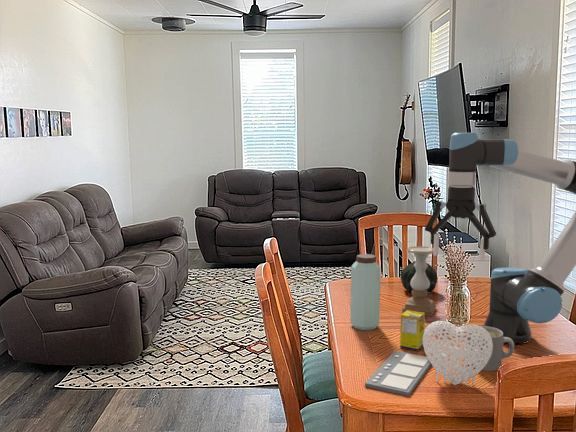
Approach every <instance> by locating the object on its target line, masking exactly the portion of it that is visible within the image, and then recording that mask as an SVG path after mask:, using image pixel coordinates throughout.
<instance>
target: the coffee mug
mask: <svg viewBox="0 0 576 432" xmlns="http://www.w3.org/2000/svg"><path fill="white" fill-rule="evenodd" d="M480 326H481V327H483V328H484V329H486V330H487V331H488V333H489V334H490V336H491V338H492V343H493V349H492V354H491V357H490V359H489V361H488V362H487V364H486V365H485V367H484V368H483V369H482V370H483V371H484V372H493V371H494V372H495V371H498V370H500V369H499V367H500V366H501V367H502V360H503V359H506V358H508V357H510V356H513V354H514V351H515V344H514V342H513V340H512V339H511V338H508V337H503V332H502V331H501V330H499V329H497V328H493V327H489V326H483V325H480ZM468 329H469V328H468ZM475 330H476V329H475ZM479 331H480V330H479ZM469 334H470V335H472V333H469ZM476 334H478V333H477V332H476ZM480 334H481V333H480ZM481 335H482V334H481ZM483 336H484V335H483ZM475 337H476V336H474V337H473V338H475ZM479 338H480V336H479ZM481 338H482V337H481ZM475 339H476V338H475ZM467 340H471V337H468V338H467ZM488 340H489V339H488ZM473 341H474V340H472V342H473ZM483 341H485V340H484V339H483ZM505 342H508V343H509V344H508V346H509V347H508V350H507V351H504V349H503V346H504V344H506V343H505ZM478 343H479V340H478ZM473 344H474V343H473ZM486 344H487V341H486ZM469 345H470V342H469ZM482 345H483V346H484V345H485V344H484V343H483V344H482ZM475 346H476V344H475ZM472 347H474V346H473V345H472ZM479 347H480V345H479ZM486 347H487V348H488V346H486ZM466 348H468V347H466ZM489 348H490V347H489ZM476 349H477V348H476ZM471 350H473V349H471ZM481 350H483V348H481ZM479 354H480V353H479ZM481 354H482V353H481ZM487 355H488V354H487ZM487 355H486V356H487ZM477 356H478V354H477ZM478 358H479V357H478ZM483 358H484V357H483ZM466 359H467V358H466ZM479 362H480V361H478V363H479ZM482 362H483V361H482ZM482 362H481V363H482ZM467 363H468V362H467ZM473 365H474V363H473V364H472V365H471V366H473ZM474 368H475V367H474ZM474 368H473V369H474ZM482 370H481V371H482ZM483 371H482V372H483Z"/></svg>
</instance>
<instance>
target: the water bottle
mask: <svg viewBox="0 0 576 432" xmlns="http://www.w3.org/2000/svg"><path fill="white" fill-rule="evenodd" d="M381 270H382V268H381V266H380V265H379V264H378V263H377V256H376V255H375V254H371V253H369V254H368V253H360V254H358V255H356V257H355V262H353V264H352V265H351V269H350V271H351V273H350V274H351V275H350V314H349V315H350V323H351V325H352V327H354V328H355V329H357V330H360V331H372V330H374V329H376V328H377V327H378V326H379V325H380V314H381V313H380V312H381V311H380V310H381V309H380V308H381V307H380V306H381V278H382V277H381V272H382V271H381Z"/></svg>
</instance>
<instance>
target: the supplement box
mask: <svg viewBox="0 0 576 432" xmlns="http://www.w3.org/2000/svg"><path fill="white" fill-rule="evenodd" d="M425 319H426V316H425V313H422V312H416V311H410V310H407V311H405V312H404V313H402V314H401V315H400V338H399V340H400V341H399V342H400V343H399V345H400V346H399V348H400V349H405V350H410V351H415V352H416V351H417V352H419V351H420V350H421V349H422V348H424V346H423V334H424V331H425V323H426V321H425Z"/></svg>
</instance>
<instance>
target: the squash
mask: <svg viewBox="0 0 576 432" xmlns="http://www.w3.org/2000/svg"><path fill="white" fill-rule="evenodd" d="M415 262H416V260H415V261H412V262H411V263H409V264H407V265H406V266H405V267H404V268H403V269H402V271H401V274H400V282H401V283H402V286H403V287H404V289H405V290H406V291H409V292H411V293H412V290H413V288H412V287H411V285H410V282H411V279H412V278H413V276H414V275H415V273H416V269H415V267H414V264H415ZM426 263H427V265H428V267H427V268H426V270H425V274H426V276H427V278H428V279H429V281H430V287H429V288H428V289H426V290H427V292H428V294H430V293H432V292H434V290H435V289H436V285H437V283H438V274H437V271H436V269H435V268H434V267H433V266H432V265H430V263H428V262H426Z"/></svg>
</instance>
